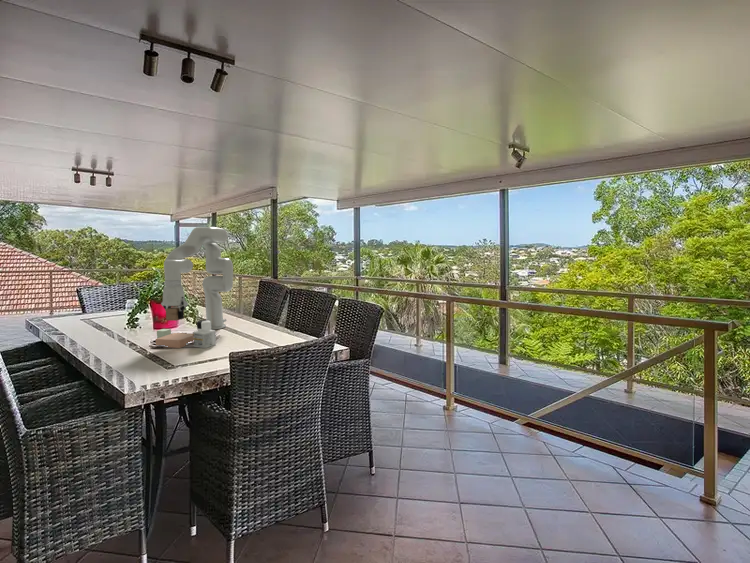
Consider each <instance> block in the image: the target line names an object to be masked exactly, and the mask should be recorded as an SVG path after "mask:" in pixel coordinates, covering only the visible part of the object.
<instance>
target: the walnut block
mask: <svg viewBox="0 0 750 563" xmlns="http://www.w3.org/2000/svg"><path fill="white" fill-rule="evenodd" d="M180 308H181V307H180ZM178 311H179V310H178V307H177V306H172V307H171V308H166V311H165V318H166V321H174V322H175V321H176V322H177V321H180V320H183V319H185V310H184V311H183V318H182V319H178Z"/></svg>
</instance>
